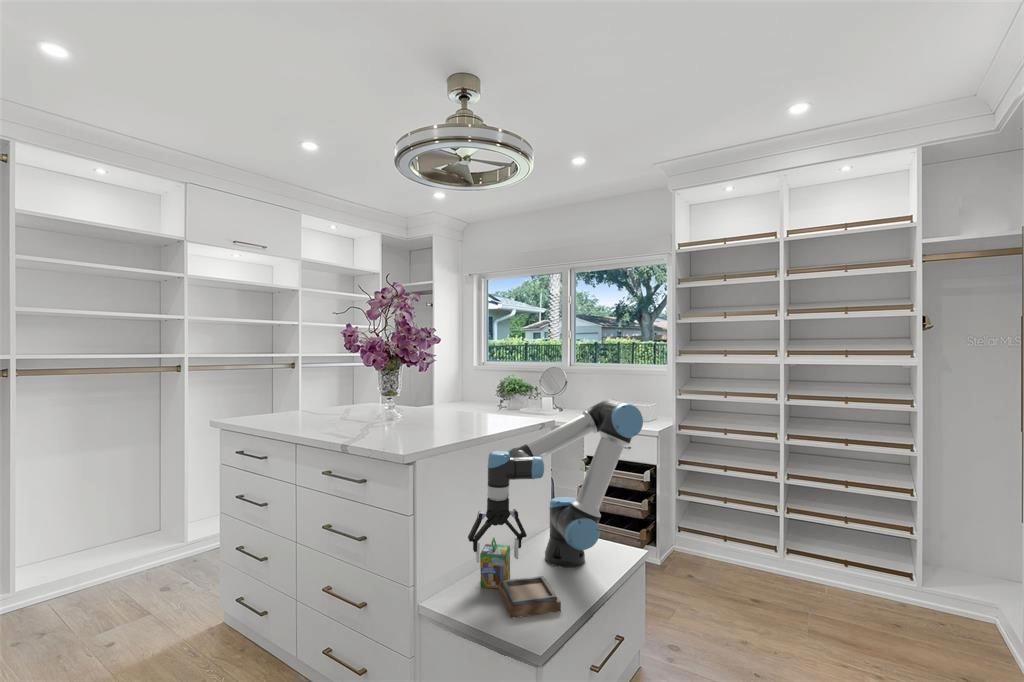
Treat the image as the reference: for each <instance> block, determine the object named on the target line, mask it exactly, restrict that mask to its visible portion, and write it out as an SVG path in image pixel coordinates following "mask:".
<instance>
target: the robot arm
mask: <svg viewBox="0 0 1024 682" xmlns="http://www.w3.org/2000/svg"><path fill="white" fill-rule="evenodd" d="M643 418H644V416H643V415H642V412H641V411H640V409H639V408H638V407H636V406H635V405H633V404H631V403H629V402H626V401H621V400H618V399H613V398H611V399H605V400H602V401H600V402H598V403H596V404H594V405H593V406H590V407H589V408H587V409H585V410H583V411H582V414H581V415H579V416H577V417H575V418H574V419H571V420H569V421H567V422H565V423H564V424H562V425H559V426H558V427H556V428H554V429H552V430H550V431H548V432H546V433H544V434H542V435H541V436H539V437H537V438H535V439H533V440H531V441H529V442H527V443H526V444H523V445H521V446H519V447H516V446H514V447H511V448H509V449H508V451H506V450H494V451H492V452H490V453H489V454H488V458H487V459H488V460H487V501H486V503H487V504H486V508H487V509H486V511H485V512H482V511H481V510H479V511H478V512H477V516H476V520H475V522H473V523H474V524H473V525H472V527H471V529H470V531H469V533H468V535H467V539H468V542H469V543H470V542H472V550H473V553H475V561H476V563H478V564H480V553H481V552H480V548H481V547H480V541H479V540H480V539H481V538H482V537H483V536H484V535H485V533H486V532H487V531H488V529H490V528H491V526H503V525H506V526H507V527H508V528H509V530H510V531H512V533H513V534H514V536H515V537H514V542H513V543H514V545H513V546H514V547H513V548H514V549H513V550H514V553H513V555H514V556H513V557H514V558H515V560H518V559H519V549H521V548H522V540H523V538H527V534H528V533H526V531H525V528H524V526H523V524H522V523H521V520H520V518H519V512H518V510H517V509H515V508H514V509H512V510H510V498H509V497H510V481H511V480H513V481H515V480H537V479H542V478H543V477H544V474H545V464H544V460H543V459H544V458H545V457H548V456H549V455H551V454H553V453H555V452H557V451H559V450H560V449H563V448H565V447H566V446H569V445H570V444H572V443H574V442H576V441H577V440H579V439H582V438H583V437H585V436H588V435H589V434H591V433H593V434H597V433H599V435H600V439H599V442H598V445H597V447H596V448H595V449H596V450H595V452H594V455H592V456H593V457H592V460H591V462H590V464H589V466H588V469H587V472H586V475H585V476H584V480H583V482H582V485H581V487H580V489H579V492H578V495H577V497H573V496H559V497H554V498H552V499H550V501H549V507H548V509H549V539H548V542H547V545H546V547H545V548H546V549H545V550H544V559H545V561H546V560H547V561H548V562H549V564H550V563H551V564H550V565H552V564H553V565H552V566H555V565H556V566H555V567H559V566H561V567H562V568H573V567H578V566H580V565H582V564H583V563H584V562H585V561H586V559H585V558H586V556H585V555H586V554H585V551H586V550H588V549H591V548H592V547H594V546H595V545H596V543H597V542H598V541H599V537H600V534H601V533H600V528H599V522H600V520H601V517H602V514H601V513H600V512H601V511H600V508H601V505H602V502H603V500H604V497H605V495H606V493H607V490H608V487H609V485H610V482H611V479H612V477H613V475H614V472H615V469H616V467H617V465H618V462H619V459H620V457H621V454H622V452H623V450H624V448H625V447H626V446H628V445H630V444H631V441H632V439H633V438H634V437H636V436H637V435H639V433H641V430H642V428H643V426H644V419H643ZM510 516H511V517H512V518H514V521H515V522H516V524H517V527H518V529H519V531H520V533H519V531H518V530H517V529H516V528H515V527H514V526H513V525H512V523H511V522H510V521H509V520H508V519H509V518H510ZM485 517H486V518H487V519H486V520H485V522H484V524H482V521H483V520H484V519H485ZM481 524H482V526H481V528H480V529H479V527H480V525H481ZM478 529H479V530H478ZM547 561H546V562H547ZM548 562H547V563H548ZM561 567H560V568H561Z"/></svg>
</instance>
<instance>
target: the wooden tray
mask: <svg viewBox="0 0 1024 682" xmlns="http://www.w3.org/2000/svg"><path fill="white" fill-rule="evenodd" d="M498 594H499V596H500V598H501V600H502V602H504V603H503V605H504V607H505V608H506V611H507V614H508V616H509V618H510V619H514V618H513V617H515V618H521V617H520V616H523V617H528V615H530V616H537V615H544V614H551V613H550V612H553V613H558V611H560V612H562V611H561V610H562V601H561V600H560V598H559V597H558V595H557V593H556V592H555V590H554V589H553V588H552V585H551V584H550V583H549V582H548V580H547V579H546V578H545V577H544V575H541V576H540V575H539V576H532V577H531V576H530V577H521V578H513V579H510V580H504V581H503V583H499V588H498Z"/></svg>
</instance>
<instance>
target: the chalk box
mask: <svg viewBox="0 0 1024 682" xmlns="http://www.w3.org/2000/svg"><path fill="white" fill-rule="evenodd" d="M479 564H480V588H486V589H499V583H503V581H504V580H511V546H510V545H506V544H500V543H499V544H498V543H497V542H496V539H495V536H494V537H492V540H491V543H485V544H484V546H483V548H482V550H481V552H480V553H479Z"/></svg>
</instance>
